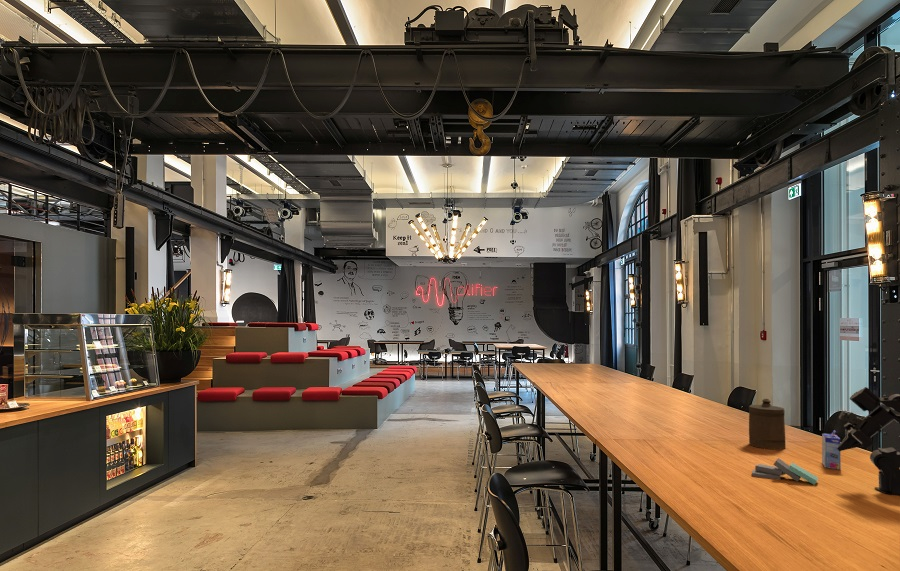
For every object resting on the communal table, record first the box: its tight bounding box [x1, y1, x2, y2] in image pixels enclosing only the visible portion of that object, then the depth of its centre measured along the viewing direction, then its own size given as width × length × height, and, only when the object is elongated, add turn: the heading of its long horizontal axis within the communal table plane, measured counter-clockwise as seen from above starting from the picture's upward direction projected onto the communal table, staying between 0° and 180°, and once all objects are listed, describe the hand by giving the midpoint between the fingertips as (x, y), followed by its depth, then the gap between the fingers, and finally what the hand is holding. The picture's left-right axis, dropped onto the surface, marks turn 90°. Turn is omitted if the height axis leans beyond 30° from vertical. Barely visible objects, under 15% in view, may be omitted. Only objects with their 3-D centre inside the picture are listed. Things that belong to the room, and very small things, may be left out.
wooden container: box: [748, 398, 787, 450], centre depth 258 cm, size 15×15×22 cm
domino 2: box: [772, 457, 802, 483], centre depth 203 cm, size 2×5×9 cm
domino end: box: [751, 469, 781, 481], centre depth 205 cm, size 2×5×9 cm
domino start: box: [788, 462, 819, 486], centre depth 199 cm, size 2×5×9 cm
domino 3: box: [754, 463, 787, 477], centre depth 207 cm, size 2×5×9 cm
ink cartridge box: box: [821, 429, 842, 471], centre depth 222 cm, size 10×6×14 cm, turn 152°
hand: (838, 449), depth 195 cm, fingers closed
